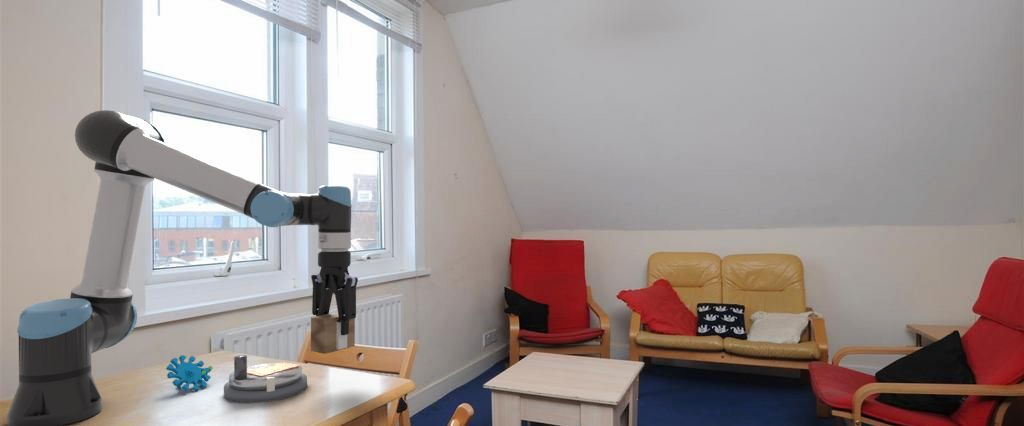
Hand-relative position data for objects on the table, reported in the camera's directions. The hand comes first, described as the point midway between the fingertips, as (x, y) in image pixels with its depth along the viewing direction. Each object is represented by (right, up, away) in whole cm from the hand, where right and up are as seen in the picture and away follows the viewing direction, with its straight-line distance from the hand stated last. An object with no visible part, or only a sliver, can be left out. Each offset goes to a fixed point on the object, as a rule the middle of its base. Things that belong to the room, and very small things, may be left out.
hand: (333, 346), depth 136 cm
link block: (0, 0, 0) cm, 0 cm away
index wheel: (-15, -7, -2) cm, 17 cm away
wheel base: (-15, -10, -2) cm, 18 cm away
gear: (-34, -10, 0) cm, 35 cm away
